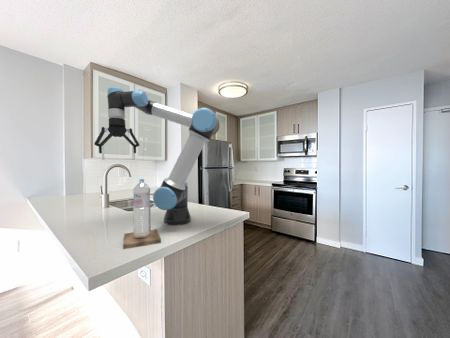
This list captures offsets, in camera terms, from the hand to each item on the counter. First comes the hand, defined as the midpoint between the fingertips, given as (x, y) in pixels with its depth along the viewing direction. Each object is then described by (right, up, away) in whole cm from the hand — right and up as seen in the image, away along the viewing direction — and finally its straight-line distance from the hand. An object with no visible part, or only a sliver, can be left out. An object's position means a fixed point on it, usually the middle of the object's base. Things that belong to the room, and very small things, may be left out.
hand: (118, 159), depth 99 cm
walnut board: (+19, -36, -15) cm, 43 cm away
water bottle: (+19, -35, -15) cm, 42 cm away
